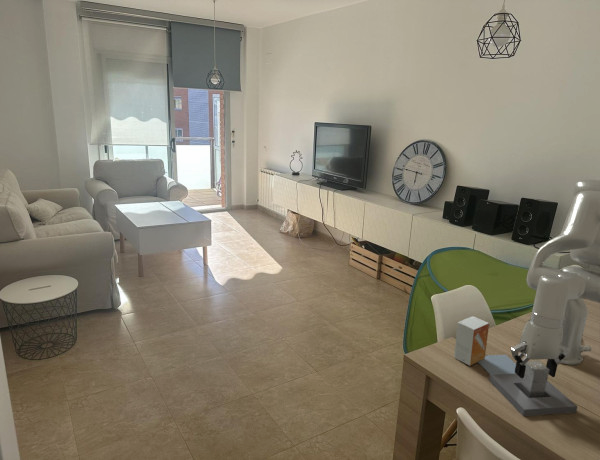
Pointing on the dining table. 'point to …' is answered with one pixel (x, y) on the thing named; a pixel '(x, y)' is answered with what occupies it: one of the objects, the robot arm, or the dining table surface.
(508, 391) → the socket block
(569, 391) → the dining table surface
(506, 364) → the blue pad
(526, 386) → the steel plug
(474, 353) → the small box
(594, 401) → the dining table surface
